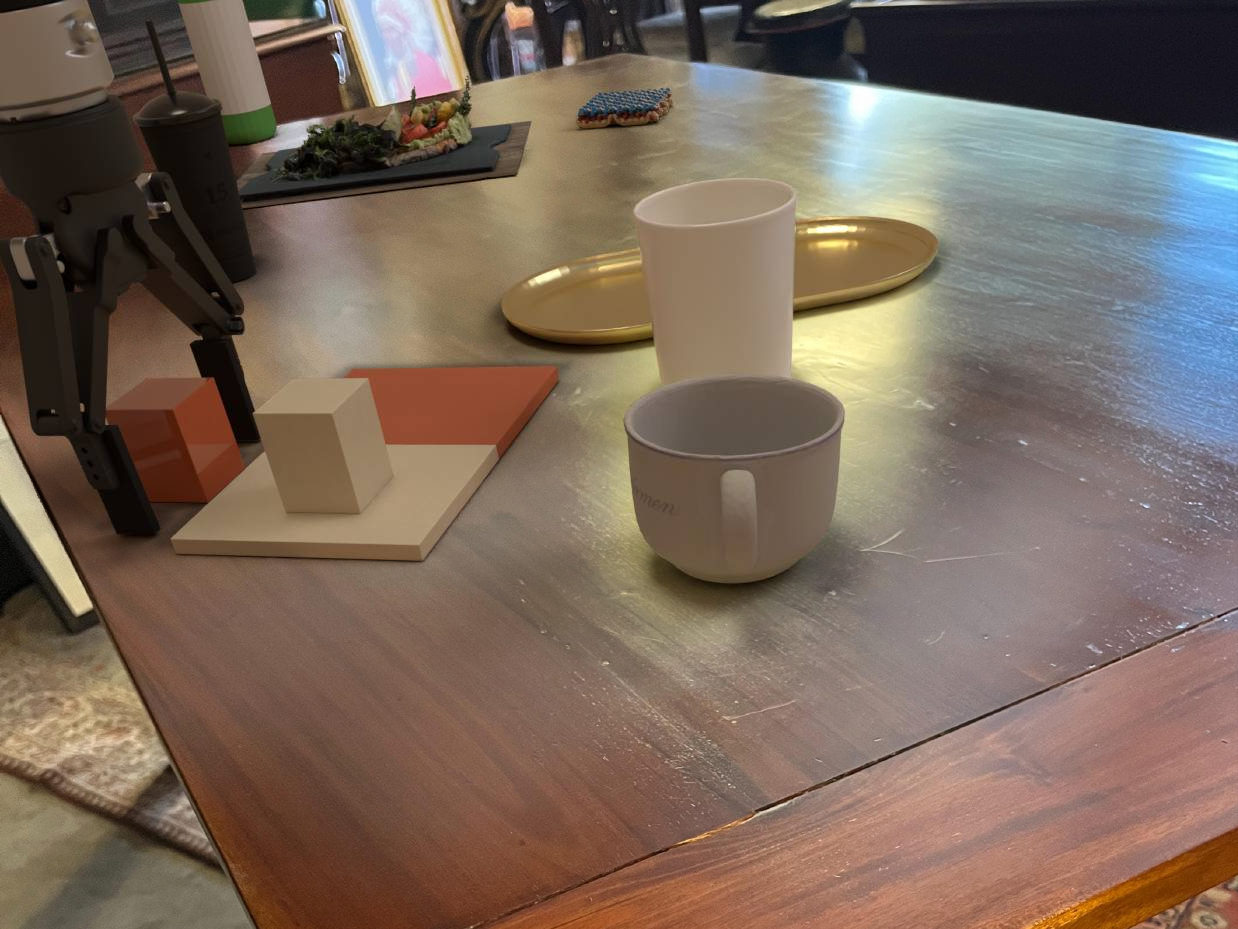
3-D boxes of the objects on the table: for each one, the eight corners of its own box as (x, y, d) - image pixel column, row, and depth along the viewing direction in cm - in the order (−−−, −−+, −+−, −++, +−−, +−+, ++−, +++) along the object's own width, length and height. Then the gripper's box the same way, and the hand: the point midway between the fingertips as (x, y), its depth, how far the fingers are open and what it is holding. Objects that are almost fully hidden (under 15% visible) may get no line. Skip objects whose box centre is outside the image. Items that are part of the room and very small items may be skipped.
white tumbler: (794, 430, 75) (788, 219, 67) (641, 434, 77) (617, 230, 69) (808, 369, 82) (804, 172, 74) (667, 375, 84) (648, 183, 76)
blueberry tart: (677, 104, 149) (675, 85, 148) (658, 125, 142) (656, 105, 141) (596, 110, 152) (594, 91, 151) (573, 131, 144) (571, 111, 143)
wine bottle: (220, 150, 158) (129, -148, 138) (222, 138, 164) (134, -150, 143) (279, 140, 159) (197, -158, 139) (279, 128, 165) (200, -159, 144)
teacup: (663, 508, 69) (648, 367, 64) (853, 508, 67) (854, 361, 62) (607, 640, 60) (583, 486, 54) (827, 644, 57) (825, 484, 52)
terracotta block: (140, 502, 78) (102, 410, 74) (180, 467, 81) (145, 378, 77) (208, 503, 77) (173, 409, 72) (245, 468, 80) (214, 377, 76)
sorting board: (175, 554, 72) (169, 538, 71) (356, 382, 90) (352, 368, 89) (423, 561, 68) (418, 544, 67) (559, 379, 86) (557, 365, 85)
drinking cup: (173, 286, 114) (82, 30, 100) (235, 260, 118) (156, 12, 104) (225, 293, 110) (139, 30, 96) (287, 267, 114) (213, 11, 101)
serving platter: (491, 294, 102) (488, 274, 101) (887, 223, 105) (888, 203, 104) (521, 370, 88) (517, 348, 87) (976, 285, 91) (977, 263, 90)
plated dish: (531, 119, 152) (520, 50, 147) (522, 179, 131) (508, 101, 126) (260, 157, 154) (240, 90, 149) (209, 222, 133) (184, 147, 128)
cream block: (285, 512, 72) (251, 413, 68) (321, 475, 75) (291, 378, 71) (360, 514, 71) (331, 413, 67) (394, 476, 74) (368, 377, 70)
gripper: (-44, 160, 55) (141, 580, 69) (223, 51, 72) (327, 404, 86) (-175, 170, 57) (32, 576, 71) (116, 61, 74) (235, 405, 88)
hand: (194, 483), depth 79 cm, fingers open, 13 cm apart
